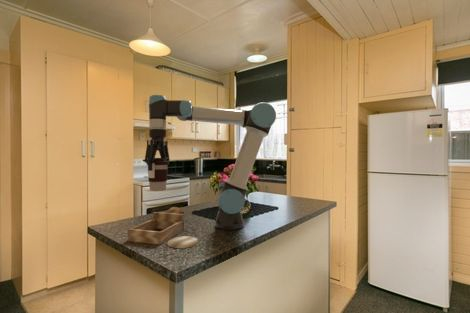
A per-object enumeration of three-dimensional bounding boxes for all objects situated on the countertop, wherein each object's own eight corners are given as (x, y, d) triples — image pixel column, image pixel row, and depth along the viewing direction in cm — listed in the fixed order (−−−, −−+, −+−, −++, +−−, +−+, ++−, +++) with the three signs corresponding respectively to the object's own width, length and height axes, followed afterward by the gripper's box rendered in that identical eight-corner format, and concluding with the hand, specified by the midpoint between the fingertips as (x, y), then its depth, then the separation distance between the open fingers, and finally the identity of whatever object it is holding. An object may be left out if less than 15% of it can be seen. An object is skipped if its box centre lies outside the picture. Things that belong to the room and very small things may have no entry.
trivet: (202, 239, 115) (202, 237, 115) (190, 249, 103) (190, 248, 103) (176, 236, 119) (176, 235, 119) (161, 246, 106) (161, 244, 106)
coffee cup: (171, 190, 119) (171, 158, 119) (150, 192, 113) (150, 158, 113) (164, 188, 127) (164, 157, 127) (144, 189, 122) (144, 157, 121)
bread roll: (168, 221, 157) (162, 210, 156) (183, 213, 161) (177, 202, 160) (170, 226, 148) (164, 214, 147) (186, 216, 152) (180, 205, 150)
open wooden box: (183, 230, 129) (183, 214, 128) (161, 244, 108) (161, 225, 108) (155, 227, 133) (154, 212, 133) (127, 240, 113) (127, 222, 113)
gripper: (163, 131, 132) (163, 174, 132) (135, 126, 110) (135, 178, 110) (176, 130, 130) (176, 174, 130) (150, 126, 108) (151, 179, 108)
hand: (157, 176), depth 120 cm, fingers closed on coffee cup, 10 cm apart
